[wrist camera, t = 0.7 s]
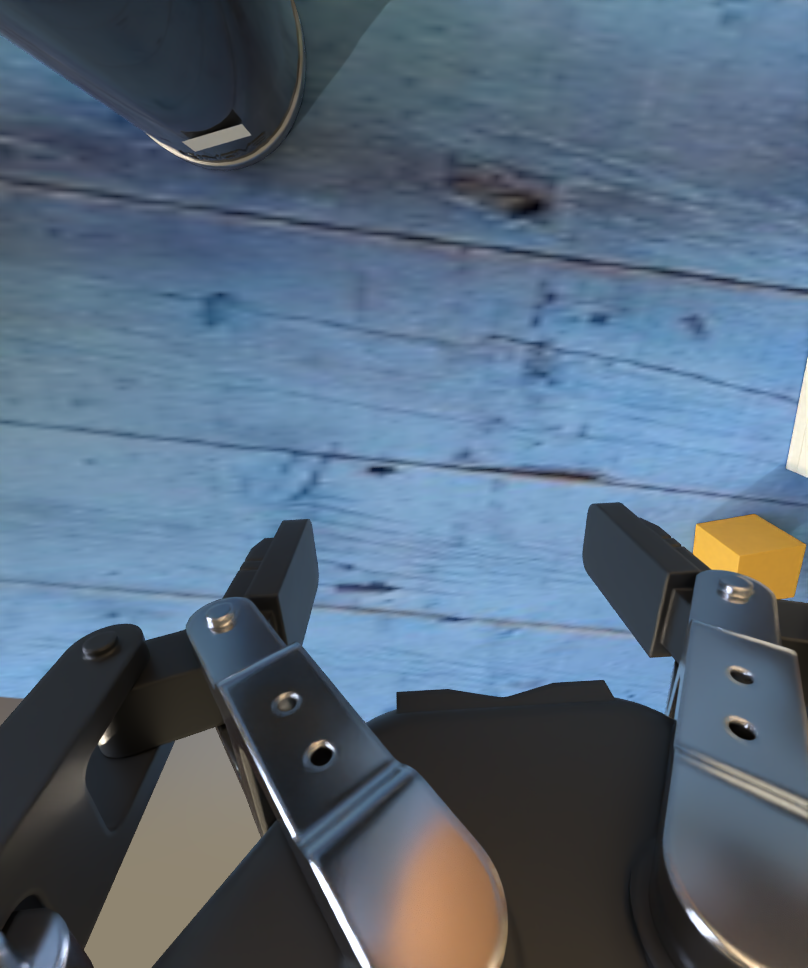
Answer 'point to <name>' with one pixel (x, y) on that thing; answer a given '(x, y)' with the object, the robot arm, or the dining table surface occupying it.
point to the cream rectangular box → (800, 434)
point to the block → (752, 551)
